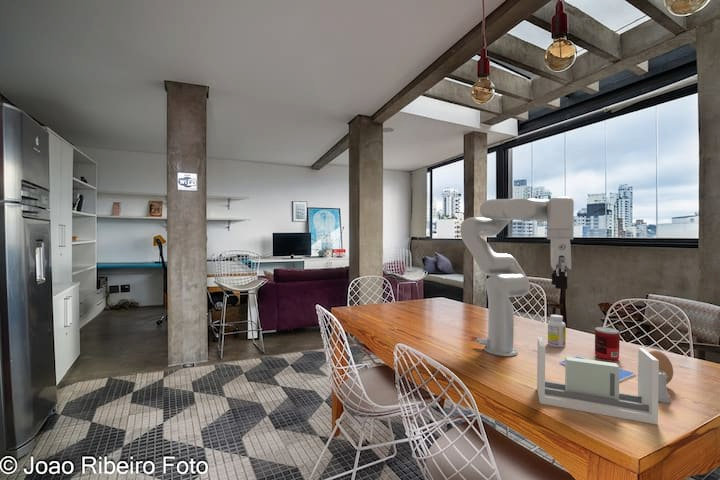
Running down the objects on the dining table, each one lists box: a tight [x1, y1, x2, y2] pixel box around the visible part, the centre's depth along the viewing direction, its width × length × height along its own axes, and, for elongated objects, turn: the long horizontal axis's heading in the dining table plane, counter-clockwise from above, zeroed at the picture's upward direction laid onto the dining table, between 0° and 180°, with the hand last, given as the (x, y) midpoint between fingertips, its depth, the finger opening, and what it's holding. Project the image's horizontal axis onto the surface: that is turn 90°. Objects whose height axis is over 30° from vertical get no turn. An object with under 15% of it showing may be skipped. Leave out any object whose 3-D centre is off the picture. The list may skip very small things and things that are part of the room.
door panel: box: [564, 356, 620, 400], centre depth 94 cm, size 12×3×10 cm, turn 66°
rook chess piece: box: [658, 371, 672, 404], centre depth 97 cm, size 4×4×8 cm
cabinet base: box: [536, 336, 659, 425], centre depth 93 cm, size 26×10×16 cm, turn 66°
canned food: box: [594, 326, 621, 362], centre depth 131 cm, size 8×8×11 cm
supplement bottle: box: [547, 314, 567, 348], centre depth 146 cm, size 7×7×13 cm
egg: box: [648, 350, 674, 385], centre depth 107 cm, size 8×8×11 cm
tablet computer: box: [559, 356, 636, 383], centre depth 119 cm, size 19×13×1 cm, turn 30°
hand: (559, 286), depth 111 cm, fingers open, 9 cm apart
